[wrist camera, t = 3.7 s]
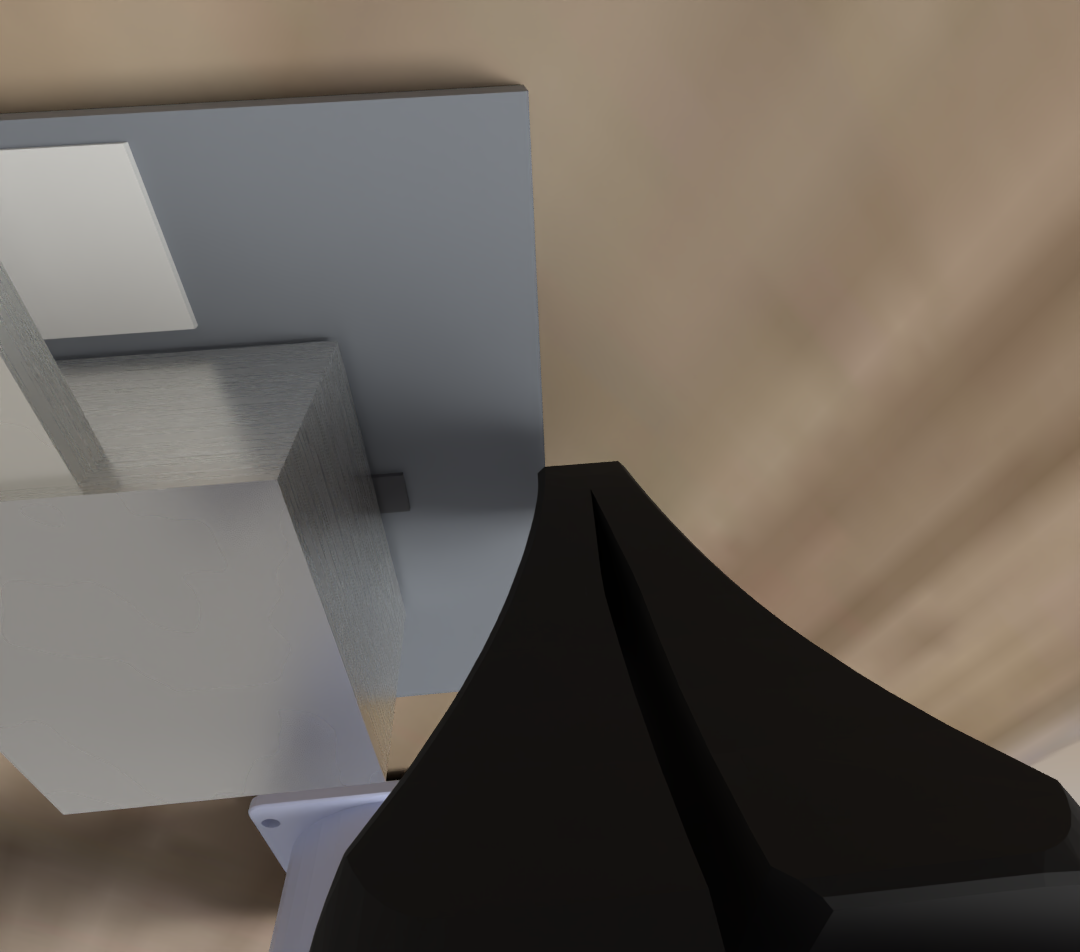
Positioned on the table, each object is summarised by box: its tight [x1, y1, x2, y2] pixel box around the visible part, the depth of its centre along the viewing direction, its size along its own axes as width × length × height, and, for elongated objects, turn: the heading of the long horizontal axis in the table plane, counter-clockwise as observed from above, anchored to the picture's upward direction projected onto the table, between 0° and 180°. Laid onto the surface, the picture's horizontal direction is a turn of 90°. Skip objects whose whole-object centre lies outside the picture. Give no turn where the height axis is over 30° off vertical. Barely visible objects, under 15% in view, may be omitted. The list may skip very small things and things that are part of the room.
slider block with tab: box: [0, 260, 406, 815], centre depth 8 cm, size 10×5×4 cm, turn 3°
